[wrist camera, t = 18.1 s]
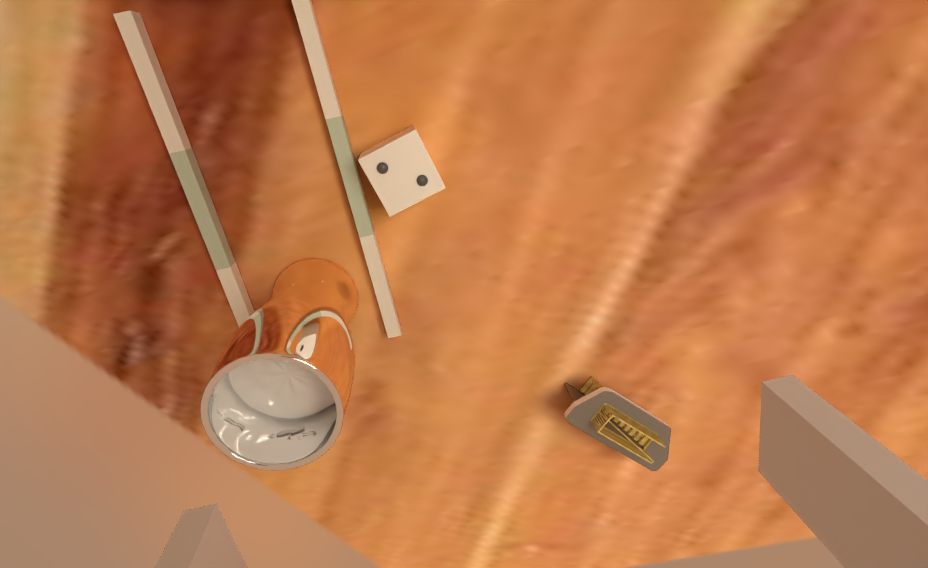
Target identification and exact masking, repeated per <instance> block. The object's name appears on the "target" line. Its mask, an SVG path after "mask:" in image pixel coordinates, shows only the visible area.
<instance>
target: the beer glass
mask: <svg viewBox="0 0 928 568" xmlns="http://www.w3.org/2000/svg"><path fill="white" fill-rule="evenodd" d="M357 305H358V293H357V289H356V286H355V284H354V282H353V280H352V278H351V277H350V276H349V274H348V273H347V272H346V271H345V270H344V269H342V268H341V267H339V266H338V265H336V264H334V263H332V262H329V261H326V260H322V259H306V260H301V261H298V262H296V263H294V264H292V265H290V266H289V267H287V268H286V269H285V270H284V271H283V272H282V273H281V274H280V275H279V277H278V278H277V280H276V282H275V284H274V287H273V292H272V299H271V300H269V301H268V302H267V303H265V304H264V305H263V306H261V307H260V308H259V309H257V310H256V311H255V312H254V313H253V314H252V315H251V316H250V317H249V318H248V319H247V320H246V321H244V322H243V324H242V325H241V326H240V327H239V328H238V330H237V331H236V333H235V334H234V335H233V337H232V338H231V339H230V341H229V343H228V344H227V346H226V348H225V350H224V351H223V353H222V355H221V357H220V359H219V361H218V363H217V366H216V368H215V370H214V372H213V375H212V377H211V379H210V381H209V383H208V384H207V386H206V388H205V390H204V393H203V396H202V400H201V419H202V423H203V427H204V429H205V431H206V433H207V435H208V437H209V438H210V440H211V441H212V443H213V444H214V445H215V446H216V447H217V448H218V449H219V450H220V451H221V452H222V453H224V454H225V455H226V456H228V457H229V458H231V459H232V460H234V461H236V462H238V463H240V464H243V465H245V466H248V467H252V468H256V469H261V470H272V471H277V470H288V469H293V468H297V467H300V466H303V465H306V464H308V463H310V462H312V461H314V460H316V459H317V458H319V457H320V456H322V455H323V454H324V453H325V452H326V451H328V450H329V448H330V447H331V446H332V445H333V444H334V442H335V441H336V439H337V437H338V436H339V433H340V431H341V428H342V424H343V418H344V415H345V411H346V408H347V405H348V401H349V398H350V394H351V389H352V384H353V378H354V367H355V354H354V345H353V339H352V334H351V330H350V326H349V323H350V322H351V320H352V319H353V317H354V315H355V312H356V309H357Z"/></svg>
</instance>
